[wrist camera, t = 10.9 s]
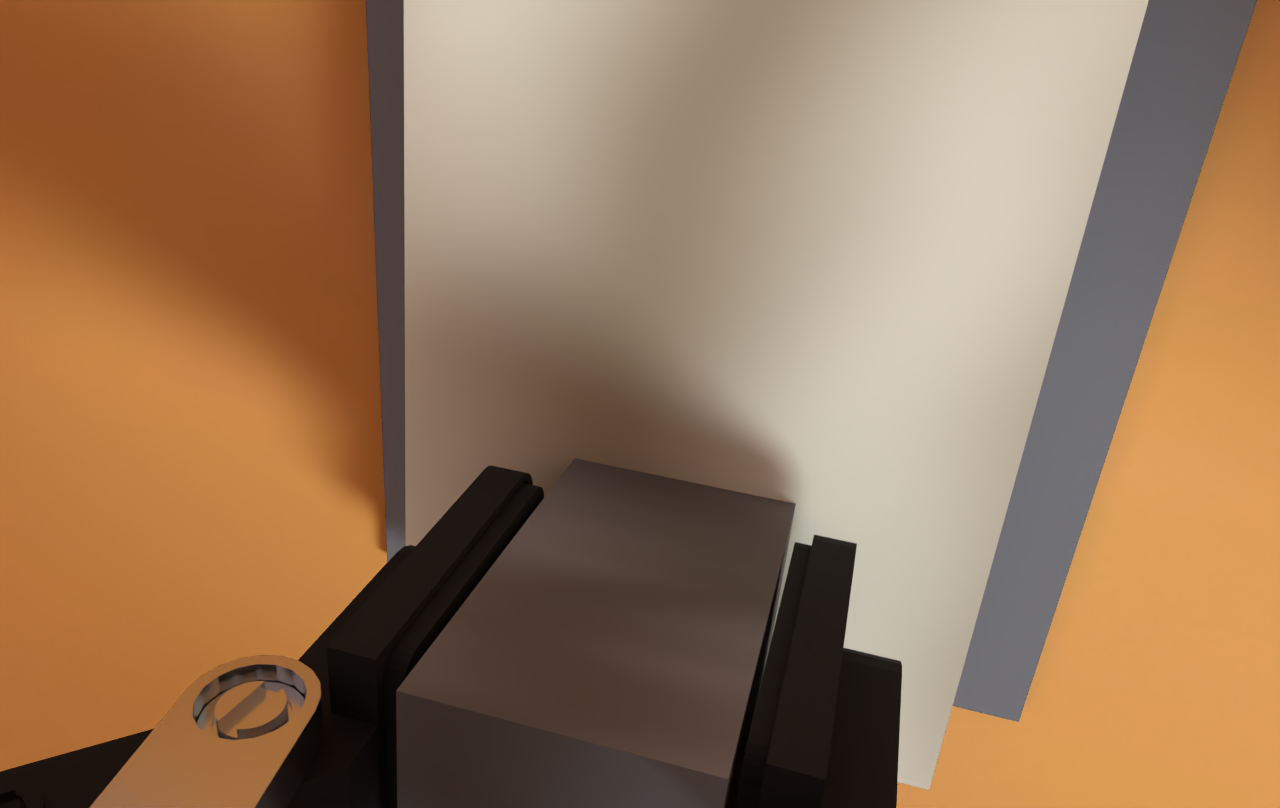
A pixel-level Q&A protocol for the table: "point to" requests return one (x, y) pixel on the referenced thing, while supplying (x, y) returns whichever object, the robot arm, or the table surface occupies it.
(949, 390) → the lid
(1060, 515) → the mat
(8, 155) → the table surface
